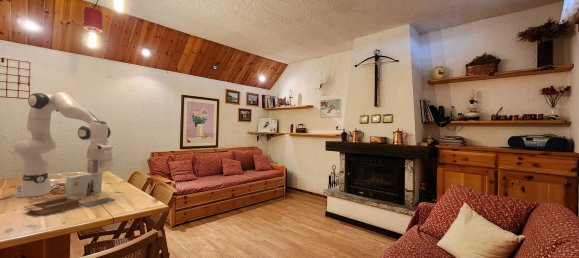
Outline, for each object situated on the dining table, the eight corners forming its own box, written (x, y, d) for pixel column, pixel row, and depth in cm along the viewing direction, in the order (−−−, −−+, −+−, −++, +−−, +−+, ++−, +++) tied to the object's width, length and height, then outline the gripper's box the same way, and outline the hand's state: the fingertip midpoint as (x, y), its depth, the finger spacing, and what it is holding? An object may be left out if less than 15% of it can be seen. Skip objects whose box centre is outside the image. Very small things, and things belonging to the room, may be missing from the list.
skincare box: (71, 201, 160) (71, 177, 159) (64, 201, 161) (65, 176, 160) (102, 193, 180) (102, 171, 180) (95, 192, 181) (96, 171, 181)
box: (87, 172, 156) (87, 160, 156) (107, 169, 167) (107, 157, 167) (92, 173, 154) (92, 160, 154) (112, 170, 165) (112, 158, 165)
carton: (20, 212, 140) (21, 202, 140) (69, 200, 161) (69, 192, 161) (38, 218, 133) (39, 208, 133) (87, 205, 154) (87, 197, 154)
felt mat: (79, 204, 155) (79, 204, 155) (106, 198, 169) (106, 197, 169) (88, 207, 151) (88, 206, 151) (115, 200, 166) (115, 199, 166)
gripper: (83, 145, 160) (83, 166, 161) (104, 147, 153) (103, 169, 153) (94, 144, 166) (94, 164, 166) (114, 146, 159) (114, 167, 159)
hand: (98, 167), depth 160 cm, fingers closed on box, 5 cm apart
